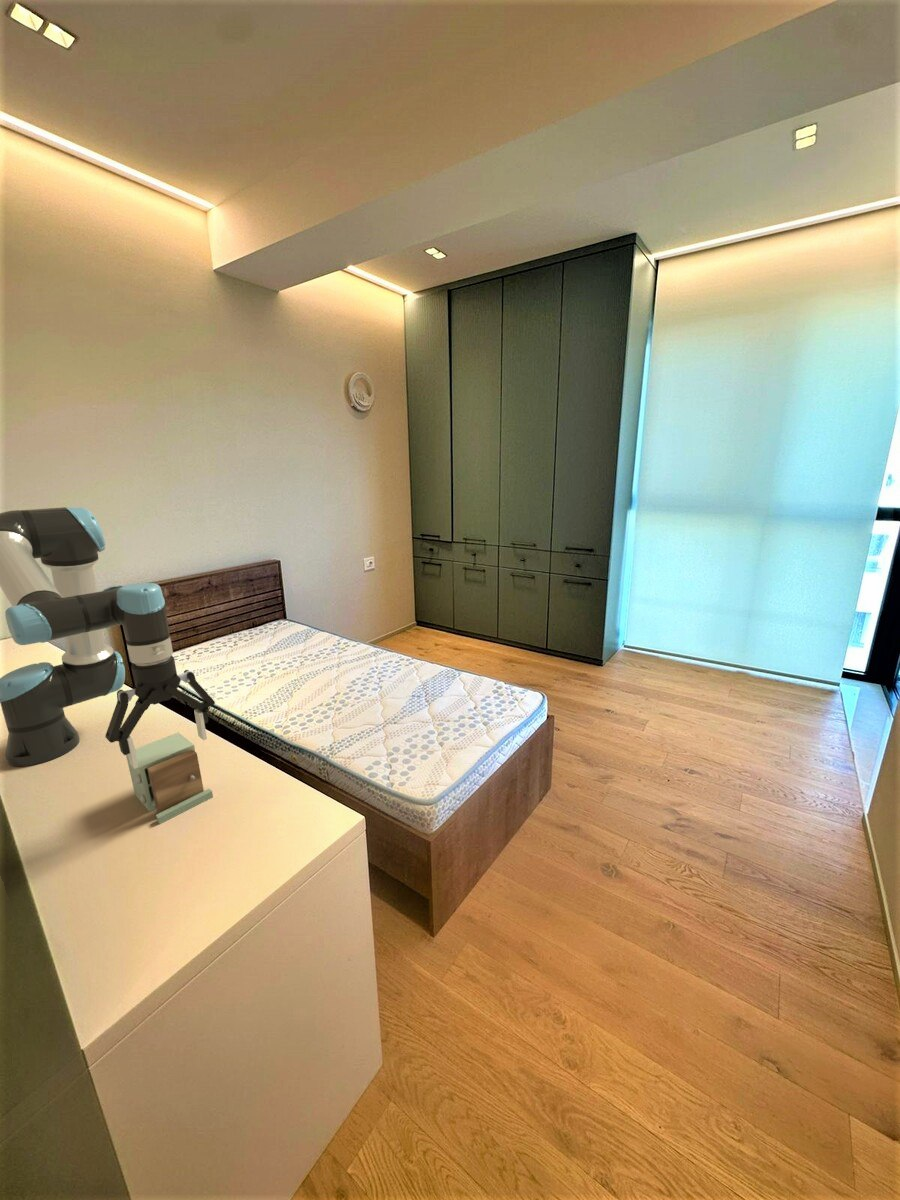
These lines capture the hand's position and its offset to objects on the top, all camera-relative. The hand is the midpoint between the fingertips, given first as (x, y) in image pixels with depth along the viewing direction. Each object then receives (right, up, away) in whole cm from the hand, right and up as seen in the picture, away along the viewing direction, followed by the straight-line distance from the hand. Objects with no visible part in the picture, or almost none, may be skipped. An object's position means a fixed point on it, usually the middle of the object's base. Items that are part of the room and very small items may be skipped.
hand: (170, 751), depth 101 cm
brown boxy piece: (+1, -13, +3) cm, 13 cm away
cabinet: (-3, -12, +5) cm, 14 cm away
